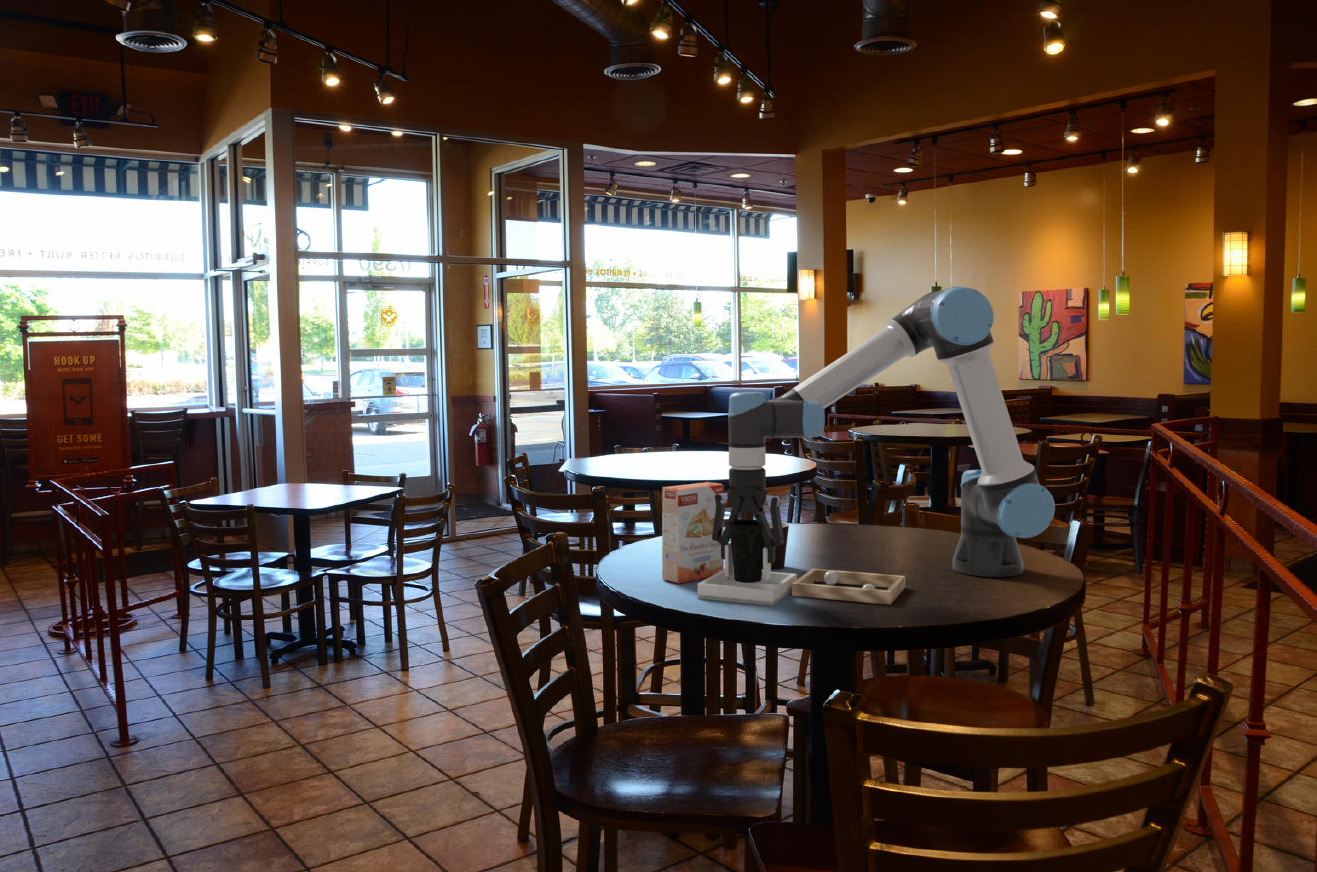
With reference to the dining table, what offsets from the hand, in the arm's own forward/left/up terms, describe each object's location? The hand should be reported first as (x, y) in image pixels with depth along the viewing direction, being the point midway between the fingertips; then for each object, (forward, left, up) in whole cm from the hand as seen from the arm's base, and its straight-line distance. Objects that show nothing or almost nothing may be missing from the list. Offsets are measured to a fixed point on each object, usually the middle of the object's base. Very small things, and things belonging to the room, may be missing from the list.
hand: (747, 576), depth 197 cm
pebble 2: (-24, -5, -3) cm, 25 cm away
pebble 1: (-14, -13, -3) cm, 20 cm away
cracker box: (+16, -9, -4) cm, 19 cm away
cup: (0, 0, -1) cm, 1 cm away
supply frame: (-19, -9, -3) cm, 21 cm away
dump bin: (0, 0, -3) cm, 3 cm away
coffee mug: (+4, -27, -4) cm, 28 cm away
